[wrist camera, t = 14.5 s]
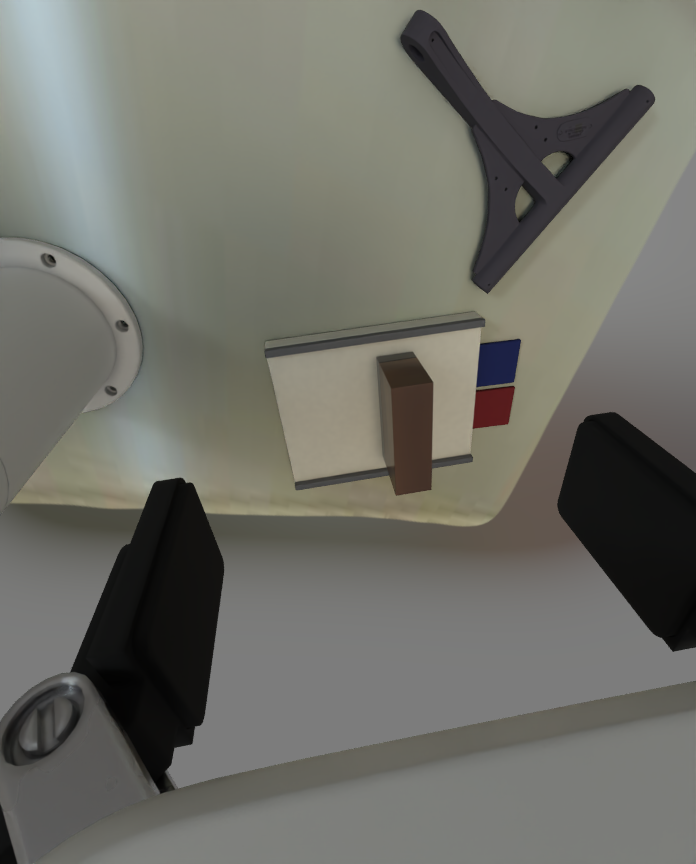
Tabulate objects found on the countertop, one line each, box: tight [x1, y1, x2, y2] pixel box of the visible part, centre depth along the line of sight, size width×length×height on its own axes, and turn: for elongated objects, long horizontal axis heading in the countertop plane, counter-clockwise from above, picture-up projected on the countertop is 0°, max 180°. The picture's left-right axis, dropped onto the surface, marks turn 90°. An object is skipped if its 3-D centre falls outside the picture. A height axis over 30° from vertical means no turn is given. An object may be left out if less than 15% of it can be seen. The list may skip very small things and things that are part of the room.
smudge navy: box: [476, 339, 521, 387], centre depth 36 cm, size 4×4×1 cm
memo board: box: [264, 312, 485, 490], centre depth 36 cm, size 17×14×2 cm
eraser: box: [376, 352, 434, 495], centre depth 33 cm, size 3×10×6 cm, turn 6°
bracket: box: [400, 10, 655, 294], centre depth 26 cm, size 14×15×3 cm
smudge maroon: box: [473, 386, 515, 429], centre depth 39 cm, size 4×4×1 cm
